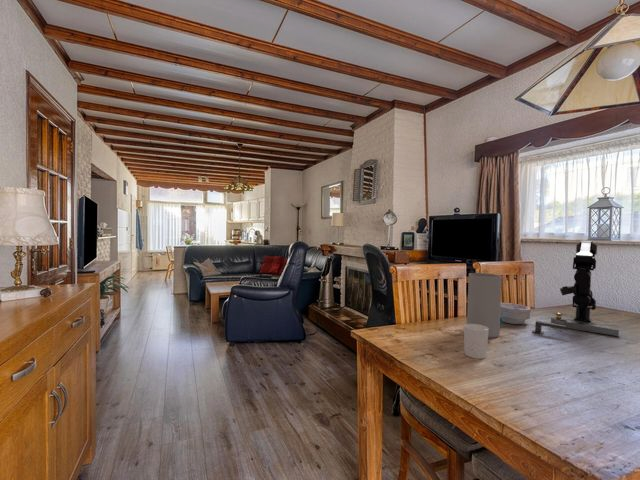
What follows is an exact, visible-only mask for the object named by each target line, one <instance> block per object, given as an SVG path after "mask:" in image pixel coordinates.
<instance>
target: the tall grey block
mask: <svg viewBox="0 0 640 480" xmlns="http://www.w3.org/2000/svg"><path fill="white" fill-rule="evenodd" d="M502 278H503V276H502V275H500V274H495V273H487V272H486V273H483V272H481V273H480V272H470V273H468V282H467V283H468V286H467V287H468V289H467V314H466V315H467V316H466V324H478V325H483V326H486V327H488V328H489V332H488V339H493V338H498V337H499V336H500V332H501V331H500V328H501V327H500V326H501V323H500V309H501V303H502V301H501V300H502V285H503V284H502V282H503V281H502V280H503V279H502Z"/></svg>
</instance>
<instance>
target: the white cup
mask: <svg viewBox="0 0 640 480" xmlns="http://www.w3.org/2000/svg"><path fill="white" fill-rule="evenodd" d="M488 332H489V328H488V327H486V326H483V325H478V324H467V323H465V324H463V344H464V354H465V355H466V356H467V357H469V358H471V359H480V360H483V359H485V358H486V357H487V350H488V341H489V338H488Z"/></svg>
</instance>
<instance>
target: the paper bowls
mask: <svg viewBox="0 0 640 480" xmlns="http://www.w3.org/2000/svg"><path fill="white" fill-rule="evenodd" d="M500 317H501V318H502V321H503V323H507V324H511V325H523V324H525V322H526V320H530V319H531V307H529V306H526V305H522V304H517V303H510V302H501V309H500Z"/></svg>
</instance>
